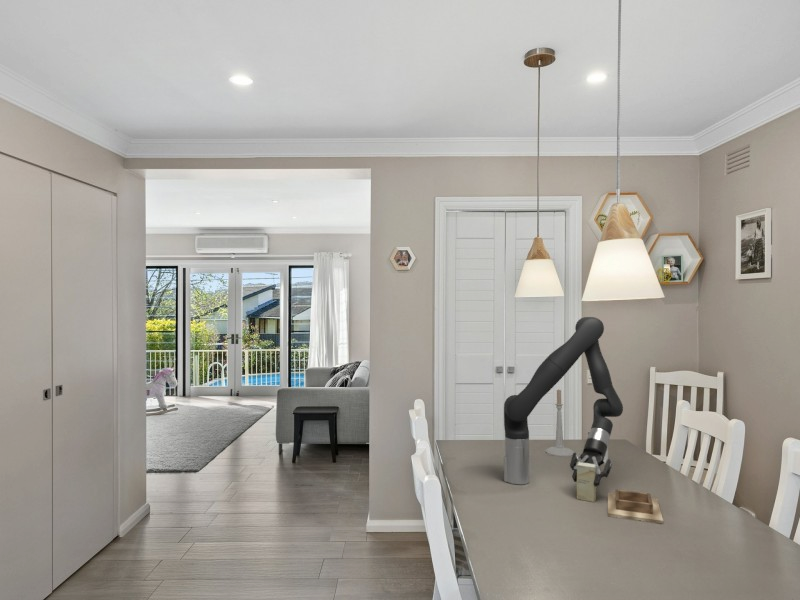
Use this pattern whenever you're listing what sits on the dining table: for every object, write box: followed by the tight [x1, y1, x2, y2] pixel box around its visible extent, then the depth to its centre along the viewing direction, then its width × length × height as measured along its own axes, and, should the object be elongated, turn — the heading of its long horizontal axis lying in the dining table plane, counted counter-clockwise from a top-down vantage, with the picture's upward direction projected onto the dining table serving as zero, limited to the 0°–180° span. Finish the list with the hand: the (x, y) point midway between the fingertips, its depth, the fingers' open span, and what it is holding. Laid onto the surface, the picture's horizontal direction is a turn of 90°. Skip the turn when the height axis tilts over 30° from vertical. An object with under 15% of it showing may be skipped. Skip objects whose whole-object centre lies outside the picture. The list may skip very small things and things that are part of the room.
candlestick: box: [545, 389, 575, 457], centre depth 240 cm, size 13×13×30 cm
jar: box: [587, 431, 609, 460], centre depth 228 cm, size 9×8×12 cm
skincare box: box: [576, 461, 597, 503], centre depth 181 cm, size 6×4×12 cm
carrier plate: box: [607, 489, 664, 524], centre depth 171 cm, size 16×20×4 cm
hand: (584, 482), depth 179 cm, fingers closed on skincare box, 7 cm apart
